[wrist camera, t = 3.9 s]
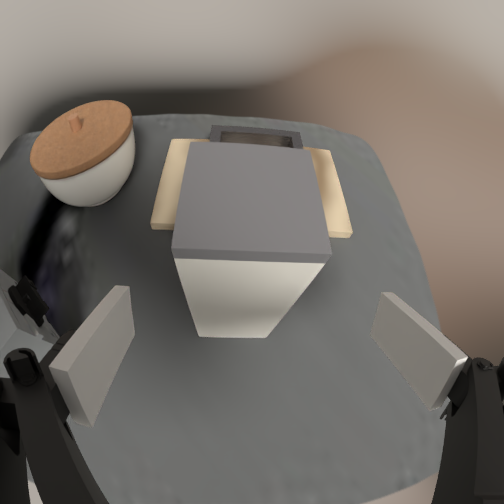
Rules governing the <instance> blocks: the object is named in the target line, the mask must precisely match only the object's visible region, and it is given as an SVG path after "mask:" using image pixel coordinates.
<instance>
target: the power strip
mask: <svg viewBox="0 0 504 504" xmlns="http://www.w3.org/2000/svg"><path fill="white" fill-rule="evenodd" d="M171 250H172V253H173V257H174V260H175V264H176V267H177V270H178V274H179V277H180V280H181V284H182V287H183V290H184V293H185V296H186V299H187V303H188V306H189V309H190V312H191V315H192V318H193V321H194V324H195V326H196V329H197V332H198V335H199V337H223V338H266V337H267V336H268V335H269V333H270V332H271V331H272V330H273V329H274V327H275V326H276V325H277V324H278V323H279V321H280V320H281V319H282V318H283V317H284V315H285V314H286V313H287V312H288V310H289V309H290V308H291V307H292V306H293V304H294V303H295V302H296V301H297V299H298V298H299V297H300V296H301V294H302V293H303V292H304V290H305V289H306V288H307V287H308V285H309V284H310V283H311V281H312V280H313V279H314V278H315V276H316V275H317V274H318V272H319V271H320V270H321V268H322V267H323V266H324V264H325V263H326V262H327V260H328V259H329V258H330V256H331V255H332V250H331V244H330V239H329V234H328V228H327V223H326V218H325V213H324V209H323V204H322V199H321V195H320V190H319V186H318V181H317V177H316V173H315V169H314V165H313V160H312V156H311V153H310V150H304V149H296V148H288V147H278V146H268V145H256V144H242V143H223V142H190V145H189V150H188V155H187V159H186V164H185V169H184V174H183V179H182V184H181V190H180V195H179V201H178V206H177V212H176V218H175V225H174V231H173V238H172V245H171Z"/></svg>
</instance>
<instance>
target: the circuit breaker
mask: <svg viewBox="0 0 504 504" xmlns="http://www.w3.org/2000/svg"><path fill="white" fill-rule="evenodd" d="M48 310H49V307H48V306H47V304H46V303H45V301H43V300H42V298H41V297H40V295H39V293H38V292H37V288H36V287H35V285H34V283H33V282H32V280H29V279H28V278H27V276H26V275H25V276H24V277H23V278H22V279H21V280H20V282H19V283H17V282H16V281H15V280H14V279H12V278H11V277H10V276H9V275H7V274H6V273H5V272H4V271H3V270H1V269H0V377H3V378H10V377H9V375H8V373H7V370H6V368H5V366H4V364H3V361H4V358H5V356H6V355H7V354H8V353H9V352H11V351H12V350H15V349H18V348H29V349H31V350H33V351H34V353H35V355H36V357H37V359H38V362H40V361H41V360H42V359H43V357H44V356H45V355H46V354H47V352H48V351H49V350H51V348H52V346H53V345H54V344H56V342H57V340H58V339H59V338H60V337H59V335H58V334H57V333H56V331H55V330H54V328H53V327H52V325H51V324H50V323H48V321H47V318H46V316H45V313H46V312H47V311H48Z"/></svg>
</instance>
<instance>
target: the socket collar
mask: <svg viewBox="0 0 504 504" xmlns="http://www.w3.org/2000/svg"><path fill="white" fill-rule="evenodd" d="M209 142H223V143H242V144H256V145H268V146H278V147H288V148H296V149H303V145H302V140H301V136H300V132H292V131H284V130H275V129H264V128H253V127H238V126H218V125H212V128H211V134H210V141H209Z"/></svg>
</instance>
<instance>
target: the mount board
mask: <svg viewBox="0 0 504 504" xmlns="http://www.w3.org/2000/svg"><path fill="white" fill-rule="evenodd" d="M209 141H210V139H172V140H171V144H170V147H169V151H168V154H167V158H166V161H165V165H164V168H163V172H162V176H161V180H160V184H159V188H158V192H157V196H156V200H155V204H154V209H153V213H152V218H151V222H150V224H151V227H152V229H154V230H174V225H175V218H176V212H177V206H178V201H179V195H180V190H181V184H182V179H183V174H184V169H185V164H186V159H187V155H188V150H189V145H190V142H209ZM303 149H304V150H310V153H311V156H312V160H313V165H314V169H315V173H316V177H317V181H318V186H319V190H320V195H321V199H322V204H323V209H324V213H325V218H326V223H327V228H328V234H329V237H337V238H349V237H350V236H351V234H352V233H353V232H352V227H351V223H350V219H349V215H348V211H347V208H346V204H345V200H344V197H343V193H342V189H341V186H340V182H339V179H338V176H337V172H336V169H335V166H334V163H333V160H332V156H331V153H330V151H329V150H323V149H316V148H309V147H303Z"/></svg>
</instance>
